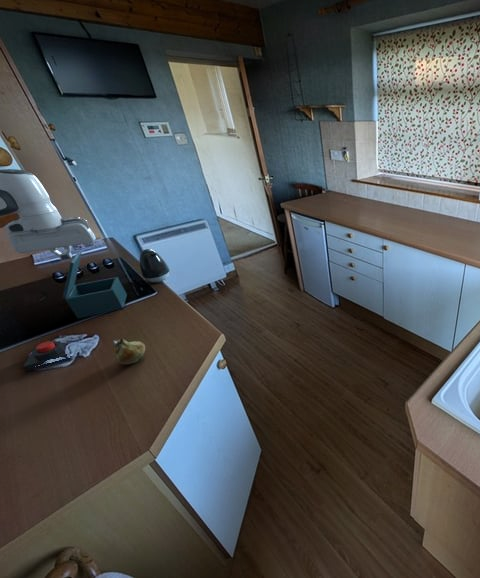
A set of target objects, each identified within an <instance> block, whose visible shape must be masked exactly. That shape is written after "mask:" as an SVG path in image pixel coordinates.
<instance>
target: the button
mask: <svg viewBox="0 0 480 578" xmlns="http://www.w3.org/2000/svg"><path fill="white" fill-rule="evenodd" d="M55 347H56V346H55V344H54V343H53V341H52V340H47V341H44V342H41V343H40V344H38V345H37V346H36V347H35V349H37V350H38V351H39V352H40V353H44V352H48V351H50V350H52V349H53V348H55Z"/></svg>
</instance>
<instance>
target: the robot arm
mask: <svg viewBox="0 0 480 578" xmlns="http://www.w3.org/2000/svg"><path fill="white" fill-rule="evenodd" d="M14 213H15V214H17V215H18V216H19V218H17V219H15V220H13V221H11V222H8V223H7V224H6V225H5V226H4V227H3V229H4V231H5V232H6V233H8V234H7V239H8V241H9V243H10V245H11V247H12V249H13V250H14V251H15V252H17V253H19V254H27V253H31V252H39V251H45V250H49V252H50V253H52V254H54V255H56V256H58V258H59V260H60V261H61V260H68V259H73V258H74V256H73V254H72V247H73V246H79V245H87V244H93V243H94V242H95V241H96V239H97V237H96V235H95V233H94V231H93V230H92V228H90V227H91V226H90V224H89V222H88V220H87V219H85V218H82V217H79V216H74V217H65V218H63V217H62V216H61V213H59V210H58V209H57V208H56V206H55V205H53V203H52V202H51V198H50V196H49V193H48V191H47V190H46V188H45V187H44V185H43V184H42V182H40V180H39V179H38V178H37V177H36V175H34V174H33V173H31V172H30V171H27V170H23V169H17V168H15V169H14V168H13V169H12V168H7V169H6V168H2V169H0V217H4V216H7V215H10V214H14ZM60 248H63V249H64V250H65V251H66V252H61V251H60V250H58V249H60Z"/></svg>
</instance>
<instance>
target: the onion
mask: <svg viewBox="0 0 480 578" xmlns="http://www.w3.org/2000/svg"><path fill="white" fill-rule="evenodd" d="M112 343H113V347H114V348H117V350H115V354H116V362H117V363H119V364H121V365H127V366H128V365H132V364H134V363H137V362H139V361H140V360H141V359H142V357H143V356H144V355H145V352H146V344H144V343H143V342H142V341H139V340H133V341H127V340H126V339H124V338H120V339H118V340H117V339H115V340H113V341H112Z"/></svg>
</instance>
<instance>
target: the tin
mask: <svg viewBox="0 0 480 578" xmlns="http://www.w3.org/2000/svg"><path fill="white" fill-rule="evenodd" d="M127 296H128V293H127V292H126V290H125V288H124V286H123V283H122V282H121V281H120V278H119V277H118V276H116V277H115V276H114V277H110V278H104V279H99V280H93V281H88V282H84V283H77V284H74V286H73V287H72V289H71V291H70V292H69V294H68V296H67V297H66V298H64V299H65V300H64V301H65V302H66V303H67V305H68V306H69V308H70V309H71V310H72V312H73V313H74V315H75V316H76V318H77V319H78V320H79V319H84V318H88V317H92V316H96V315H100V314H106V313H109V312H114V311H118V310H123V309H124V307H125V305H126V304H125V303H126V300H127V298H128V297H127Z"/></svg>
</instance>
